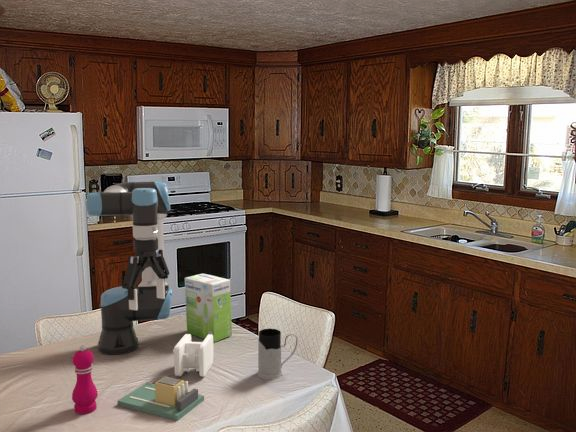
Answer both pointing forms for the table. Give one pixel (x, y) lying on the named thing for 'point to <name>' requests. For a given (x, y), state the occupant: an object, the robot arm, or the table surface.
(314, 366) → the table surface
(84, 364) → the pepper mill
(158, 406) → the board
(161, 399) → the plug block
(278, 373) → the grey mug
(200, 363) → the cable organizer
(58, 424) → the table surface
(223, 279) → the toothbrush box
